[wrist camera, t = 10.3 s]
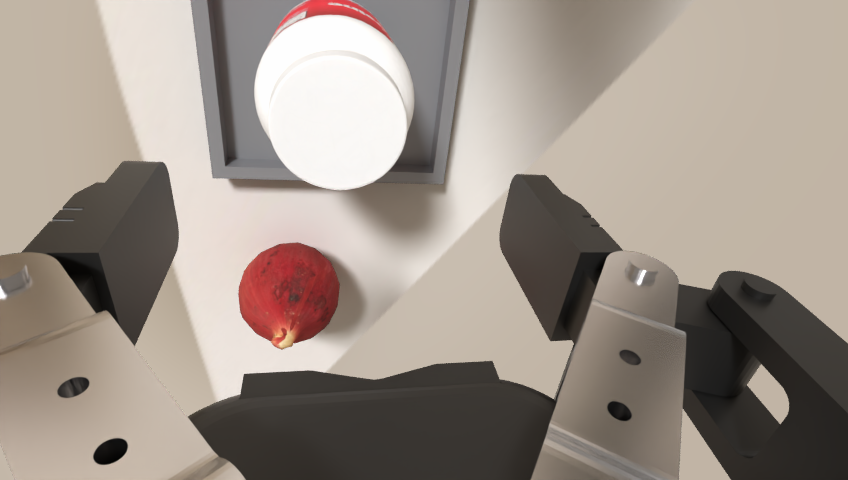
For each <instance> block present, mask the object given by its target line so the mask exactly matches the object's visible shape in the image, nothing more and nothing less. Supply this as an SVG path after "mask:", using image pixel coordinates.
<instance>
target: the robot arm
mask: <svg viewBox="0 0 848 480" xmlns="http://www.w3.org/2000/svg"><path fill="white" fill-rule="evenodd" d="M599 226H600V225H599V224H598V222H596V220H595V219H594V218H591V215H590V214H589V213H588V212H587V210H586V209H585V208H584V207H583V206H582V205H581V204H579V203H578V202H576V201H574V200H573V199H571V198H569V197H568V196H566V195H564V194H562V192H561V191H560V190H559V189H558V188H557V187H556V186H555V185H554V183H552V181H551V180H550V179H549V178H548V177H547V176H546V175H524V174H517V175H515V176H514V177H513V179H512V181H511V184H510V189H509V193H508V198H507V202H506V206H505V210H504V215H503V219H502V223H501V228H500V247H501V250H502V253H503V255H504V256H505V259H506V260H507V262H508V264H509V266H510V268H511V270H512V271H513V273H514V275H515V277H516V279H517V280H518V282H519V284H520V286H521V288H522V290H523V292H524V293H525V295H526V297H527V299H528V301H529V303H530V304H531V306H532V308H533V310H534V312H535V314H536V315H537V317H538V319H539V321H540V323H541V324H542V327H543V328H544V330H545V332H546V334H547V336H548V338H549V339H550V341H562V340H572V341H573V343H574V345H573V348H572V350H571V353H570V356H569V358H568V361H567V364H566V367H565V370H564V373H563V375H562V378H561V381H560V384H559V386H558V389H557V392H556V395H555V398H554V399H552V398H550V397H549V396H547V395H545V394H543V393H541V392H539V391H536V390H534V389H532V388H529V387H526V386H524V385H521V384H518V383H514V382H510V381H505V380H500V379H499V377H498V375H497V372H496V369H495V367H494V364H493V362H492V361H484V362H465V363H448V364H447V363H446V364H434V365H431V366H427V367H423V368H420V369H416V370H412V371H409V372H405V373H401V374H398V375H394V376H390V377H387V378H384V379H377V380H371V379H363V378H357V377H349V376H343V375H336V374H330V373H323V372H316V371H292V372H273V373H254V374H244V377H243V383H242V389H241V394H240V395H237V396H233V397H230V398H227V399H224V400H222V401H219V402H216V403H214V404H212V405H210V406H207V407H205V408H203V409H201V410H199V411H197V412H195V413H194V414H192V415H190V416H188V417H187V415H186V414H185V413H184V412H183V411H182V409H181V407H180V406H179V405H178V403H177V402H176V401H175V400H174V398H173V397H172V395H171V394H170V393H169V391H168V390H167V389H166V387H165V386H164V385H163V384H162V382H161V381H160V380H159V378H158V377H157V376H156V375H155V373H154V372H153V370H152V369H151V368H150V366H149V365H148V364H147V362H146V361H145V360H144V359H143V357H142V356H141V354H140V353H139V352H138V351H137V349H136V348H135V344H136V342H137V340H138V337H139V335H140V333H141V331H142V328H143V326H144V324H145V322H146V319H147V317H148V315H149V313H150V310H151V308H152V306H153V304H154V301H155V299H156V297H157V295H158V292H159V290H160V288H161V285H162V283H163V281H164V279H165V277H166V274H167V272H168V270H169V268H170V265H171V263H172V261H173V259H174V256H175V254H176V251H177V247H178V239H179V230H178V222H177V217H176V211H175V206H174V200H173V195H172V189H171V184H170V178H169V173H168V170H167V167H166V165H165V164H164V163H163V162H143V161H124V162H122V163H121V164H120V165H119V167H118V168H117V169H116V170H115V171H114V173H113V174H112V175H111V176H110V177H109V179H108V180H107V181H106V182H105V183H95V184H93V185H91V186H90V187H87V188H85V189H83V190H81V191H79V192H78V193H76V194H74V195H73V197H72V198H71V199H70V200H69V201H68V202H67V203H66V204H65V205H64V206H63V210H60V211H59V212H58V213H57V214H56V215H55V216H54V217H53V221H52V222H49V223H48V224H47V225H46V226H45V227H44V228H43V229H42V230H41V232H40V233H39V234H38V235H37V236H36V237H35V238H34V239H33V240H32V241H31V242H30V244H29V245H28V246H27V247H26V248H25V249H24V250H23V251H22V252H21V253H12V254H7V255H1V256H0V445H1V447H2V450H3V452H4V455H5V457H6V460H7V462H8V465H9V467H10V470H11V472H12V475H13V477H14V480H679V464H680V463H679V462H680V444H681V427H682V409H684V411H685V412H686V413H687V415H688V416H689V418H690V419H691V421H692V422H693V424H694V425H695V427H696V428H697V430H698V431H699V433H700V434H701V436H702V437H703V438H704V440H705V442H706V443H707V445H708V446H709V448H710V449H711V450H712V452H713V454H714V455H715V457H716V458H717V459H718V461H719V462H720V464H721V465H722V467H723V468H724V470H725V471H726V473H727V474H728V476H729V477H730V479H731V480H848V343H846V342H845V341H844V340H843V339H842V338H840V337H839V336H838V335H837V334H836V333H835V332H834V331H832V330H831V329H830V328H829V327H828V326H826V325H825V324H824V323H823V322H822V321H821V320H819V319H818V318H817V317H816V316H815V315H814V314H812V313H811V312H810V311H809V310H808V309H807V308H805V307H804V306H803V305H802V304H801V303H799V302H798V301H797V300H796V299H795V298H794V297H792V296H791V295H790V294H789V293H788V292H786V291H785V290H784V289H782V288H781V287H779V286H778V285H776V284H774V283H773V282H771V281H769V280H766V279H764V278H762V277H759V276H756V275H753V274H749V273H745V272H740V271H727V272H723V273H721V274H720V275H719V277H718V279H717V281H716V282H715V284H714V286H713V288H712V290H707V289H702V288H697V287H692V286H686V285H681V284H679V281H678V278H677V275H676V274H675V272H673V270H672V269H671V268H669V267H668V266H667V265H666V264H664V263H662V262H661V261H659V260H657V259H655V258H653V257H650V256H648V255H645V254H642V253H637V252H633V251H623V250H622V249H621V248H620V246H619V245H618V244H616V242H615V241H614V240H613V239H612V238H611V237H610V236H609V234H608V233H607V232H606V231H605V230H604V229H603V228H602V227H599ZM761 364H762V365H763V366H764V367H765V368H766V369H767V370H768V372H769V373H770V374H771V375H772V376H773V377H774V378H775V379H776V380H777V381H778V382H779V383H780V385H781V386H782V387H783V388H784V390H785V392H786V394H787V396H788V399H789V412H788V415H787V417H786V418H785V419H784V421H783V422H782V423H781V424H779V423H778V421H777V420H776V419H775V418H774V417H773V416H772V414H771V413H770V412H769V411H768V410H767V408H766V407H765V406H764V405H763V404H762V403H761V401H760V400H759V399H758V398H757V397H756V395H755V394H754V393H753V392H752V391H751V390H750V389H749V387H748V386H747V384H748V382H749V381H750V379H751V378H752V376H753V375H754V373H755V372H756V370H757V369H758V368H759V366H760V365H761Z"/></svg>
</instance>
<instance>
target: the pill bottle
mask: <svg viewBox="0 0 848 480" xmlns="http://www.w3.org/2000/svg"><path fill="white" fill-rule="evenodd" d="M254 97H255V105H256V110H257V114H258V117H259V120H260V122H261V125H262V127H263V129H264V131H265V132H266V134H267V136H268V137H269V139H270V140H271V142H272V145H273V148H274V150H275V152H276V153H277V155H278V157H279V158H280V160H281V161H282V162H283V164H284V165H285V166H286V167H287V168H288V169H289V170H290V171H291V172H292V173H293V174H295V175H296V176H297V177H299V178H300V179H302V180H304V181H306V182H308V183H310V184H312V185H315V186H318V187H321V188H326V189H332V190H349V189H355V188H360V187H363V186H366V185H368V184H370V183H372V182H374V181H376V180H377V179H379V178H381V177H382V176H383V175H384V174H385V173H387V172H388V171H389V170H390V169H391V167H392V166H393V165H394V164H395V163H396V161H397V160H398V158H399V156H400V154H401V152H402V150H403V147H404V144H405V141H406V136H407V132H408V129H409V127H410V124H411V120H412V117H413V111H414V88H413V82H412V79H411V75H410V72H409V69H408V67H407V64H406V62H405V60H404V58H403V57H402V55H401V53H400V52H399V50H398V48H397V47H396V45H395V44H394V42H393V41H392V39H391V38H390V36H389V35H388V33H387V32H386V30H385V29H384V27H383V26H382V25H381V23H380V22H379V21H378V20H377V18H376V17H375V16H374V15H373V14H372V13H371V12H370V11H368V10H367V9H366V8H364V7H363V6H361V5H360V4H358V3H356V2H354V1H352V0H306V1H304V2H302V3H300V4H298V5H297V6H295V7H294V8H293V9H292V10H291V11H290V12H289V13H288V14H287V15H286V16H285V17H284V18H283V20H282V21H281V22H280V24H279V26H278V27H277V29H276V31H275V33H274V35H273V37H272V39H271V40H270V43H269V44H268V47H267V48H266V50H265V52H264V54H263V56H262V58H261V61H260V63H259V66H258V69H257V73H256V78H255V86H254Z"/></svg>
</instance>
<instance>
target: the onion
mask: <svg viewBox="0 0 848 480" xmlns="http://www.w3.org/2000/svg"><path fill="white" fill-rule="evenodd" d="M238 295H239V304H240V312H241V314H242V317H243V319H244V320H245V321H246V322H247V324H248V325H249V326H250V327H251V328H252V329H253V330H254V332H255V333H257V334H258V335H260V336H262V337H263V338H265V339H267V340H269V341H271V343H272V344H273V345H274V346H275V347H277V348H279V349H284V348H287V347H291V346H292V345H293V343H298V342H301V341H304V340H307V339H311V338H312V337H314V336H315V335H316V334H318V333H319V332H320V331H321V330H323V329H324V328H325V327H326V326H327V325H328V324H329V322H330V320H331V318H332V316H333V314H334V312H335V310H336V308H337V305H338V297H339V281H338V278H337V275H336V273H335V271H334V268H333V266H332V264H331V262H330V261H329V260H328V259H326V258H325V257H324V256H323V255H322V254H321V253H320V252H319V251H318V250H316V249H315V248H313V247H310V246H307V245H304V244H301V243H286V244H279V245H276V246H274V247H272V248H270V249H268V250H265V251H263V252H261V253H260V254H259V255H258V256H257V257H256V258H255V259H254V260H253V261H252V262H251V263H250V264H249V265H248V266H247V268H246V269H245V271H244V274H243V277H242V280H241V282H240V285H239V294H238Z"/></svg>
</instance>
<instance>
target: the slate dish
mask: <svg viewBox="0 0 848 480" xmlns="http://www.w3.org/2000/svg"><path fill="white" fill-rule="evenodd" d="M304 1H306V0H191V7H192V15H193V23H194V31H195V39H196V47H197V55H198V63H199V71H200V79H201V87H202V95H203V103H204V111H205V119H206V128H207V136H208V144H209V152H210V160H211V168H212V176H213V178H228V179H266V180H302V179H300V178H299V177H297V176H296V175H295V174H293V173H292V172H291V171H290V170H289V169H288V168H287V167H286V166H285V165H284V164H283V162H282V161H281V160H280V158H279V157H278V155H277V153H276V152H275V150H274V148H273V145H272V142H271V140H270V139H269V137H268V136H267V134H266V132H265V131H264V129H263V127H262V125H261V122H260V120H259V117H258V114H257V110H256V105H255V97H254V86H255V78H256V73H257V69H258V66H259V63H260V61H261V58H262V56H263V54H264V52H265V50H266V48H267V47H268V44H269V43H270V40H271V39H272V37H273V35H274V33H275V31H276V29H277V27H278V26H279V24H280V22H281V21H282V20H283V18H284V17H285V16H286V15H287V14H288V13H289V12H290V11H291V10H292V9H293V8H294V7H295V6H297V5H298V4H300V3H302V2H304ZM352 1H354V2H356V3H358V4H360V5H361V6H363V7H364V8H366V9H367V10H368V11H370V12H371V13H372V14H373V15H374V16H375V17H376V18H377V20H378V21H379V22H380V23H381V25H382V26H383V27H384V29H385V30H386V32H387V33H388V35H389V36H390V38H391V39H392V41H393V42H394V44H395V45H396V47H397V48H398V50H399V52H400V53H401V55H402V57H403V58H404V60H405V62H406V64H407V67H408V69H409V72H410V75H411V79H412V82H413V88H414V111H413V117H412V120H411V124H410V127H409V129H408V132H407V136H406V141H405V144H404V147H403V150H402V152H401V154H400V156H399V158H398V160H397V161H396V163H395V164H394V165H393V166H392V167H391V169H390V170H389V171H388V172H387V173H385V174H384V175H383V176H382V177H381V178H379V179H377V180H376V181H374V182H379V183H417V184H443V183H444V176H445V169H446V162H447V155H448V148H449V141H450V135H451V128H452V121H453V114H454V107H455V100H456V93H457V86H458V79H459V72H460V65H461V58H462V51H463V44H464V37H465V30H466V23H467V16H468V9H469V2H470V0H352Z"/></svg>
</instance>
